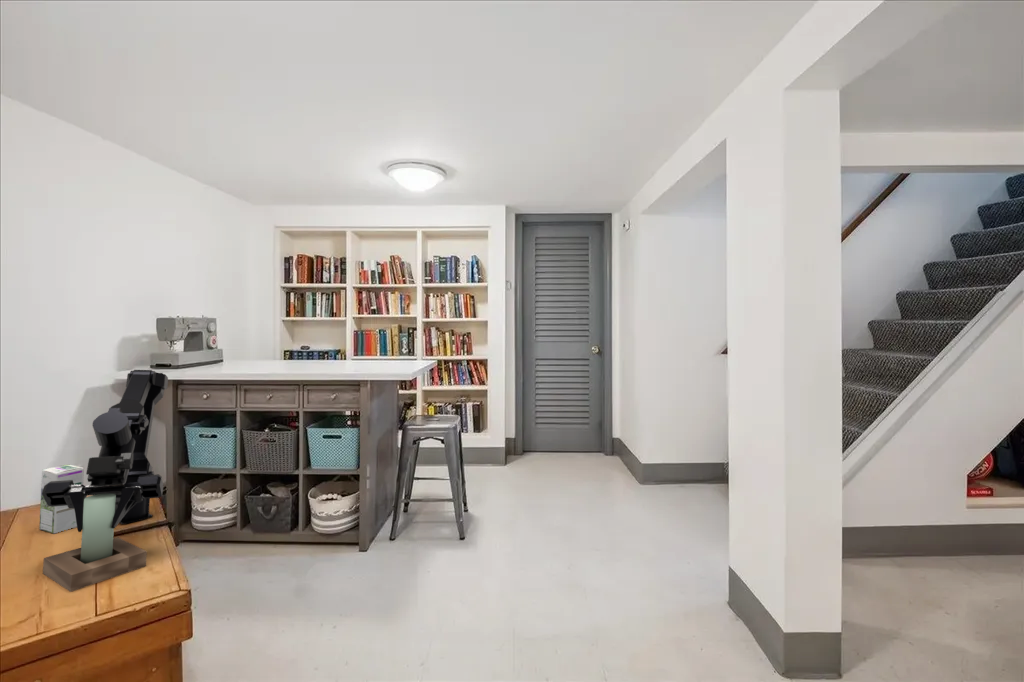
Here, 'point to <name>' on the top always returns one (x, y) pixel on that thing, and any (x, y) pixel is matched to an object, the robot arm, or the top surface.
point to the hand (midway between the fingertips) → (96, 529)
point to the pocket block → (93, 565)
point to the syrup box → (59, 515)
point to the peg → (97, 527)
